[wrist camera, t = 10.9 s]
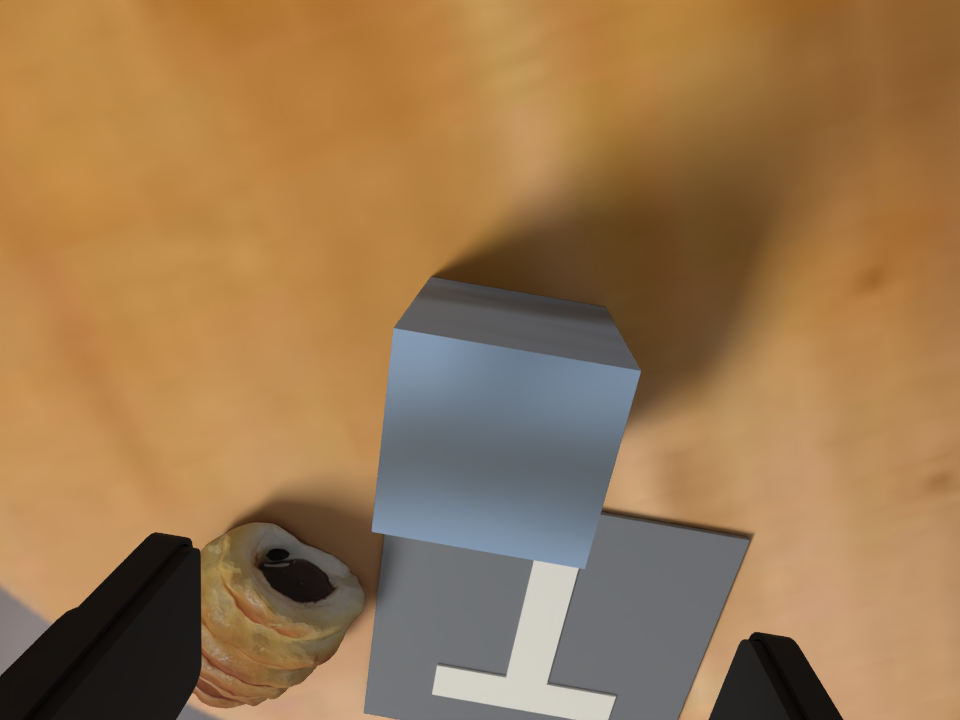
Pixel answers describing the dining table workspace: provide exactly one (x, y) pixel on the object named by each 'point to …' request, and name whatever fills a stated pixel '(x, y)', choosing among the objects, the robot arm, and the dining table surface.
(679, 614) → the board
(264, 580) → the pastry
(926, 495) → the dining table surface
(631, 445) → the dining table surface
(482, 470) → the slate blue cube
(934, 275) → the dining table surface
